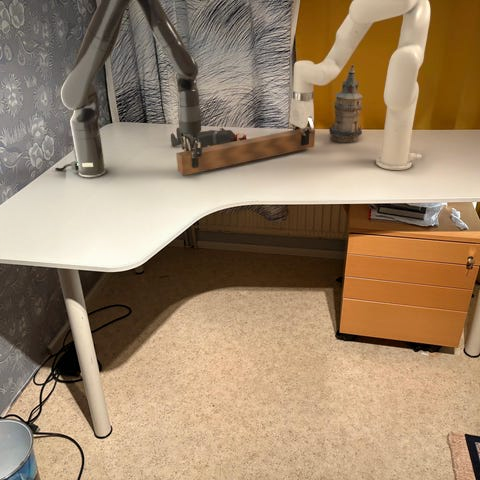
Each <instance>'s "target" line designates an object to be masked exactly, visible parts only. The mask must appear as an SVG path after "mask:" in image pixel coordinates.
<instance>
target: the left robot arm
mask: <svg viewBox="0 0 480 480" xmlns="http://www.w3.org/2000/svg"><path fill="white" fill-rule="evenodd" d="M135 1H136V2H137V4H138V6H139V7H140V9H141V11H142V13H143V16H144V18H145V20H146V23H147V25H148V28H149V30H150V32H151V34H152V35H153V37H154V39H155V41H156V42H157V44H158V45H159V47H160V48H161V50H162V52H164V54H165V55H166V57H167V58H168V60H169V61H170V64H171V65H172V67H173V69H174V72H175V73H174V74H175V80H176V86H177V117H178V128H179V131H180V132H181V133H180V138H181V144H182V145H181V150H182V151H183V152H184V151H190V152H191V156H192V167H193V168H198V167H199V161H198V157H201V156H202V148H203V145H202V142H199V140H198V135H197V134H198V133H199V132H202V115H201V107H200V94H199V92H200V91H199V87H198V84H197V76H198V74H199V66H198V63H197V61H196V59H195V58H194V56H193V55H192V53H191V52H190V51H189V49H188V48H187V46H186V45H185V42H184V40H183V38H182V36H181V34H180V33H179V32H178V30H177V28H176V27H175V25H174V23H173V22H172V20H171V19H170V17H169V15H168V14H167V12H166V10H165V9H164V6H163V5H162V3H161V1H160V0H135ZM130 2H131V0H100V2H99V4H98V6H97V7H96V9H95V11H94V13H93V15H92V18H91V20H90V22H89V24H88V26H87V29H86V32H85V33H84V37H83V40H82V43H81V45H80V48H79V50H78V53H77V56H76V58H75V61H74V64H73V66H72V68H71V70H70V72H69V74H68V76H67V77H66V79H65V81H64V83H63V85H62V87H61V90H60V98H61V101H62V103H63V105H64V106H65V107H66V108H67V109H69V110H72V111H73V114H72V116H71V118H70V120H69V121H70V123H69V124H70V128H71V134H72V139H73V145H74V147H73V148H72V151H73V157H74V161H71V162H70V163H67V164H65V165H64V166H63V167H54V168H55V171H60V172H61V171H64V170H66V168H68V167H71V170H73V171H76V174H78V175H79V177H82V178H87V179H88V178H90V179H91V178H97V177H100V176H103V175H105V174H106V172H107V171H106V165H105V158H104V151H103V145H102V137H101V130H100V124H99V119H100V105H99V104H100V103H99V96H98V90H97V87H96V85H95V84H94V82H93V80H94V78H95V77H96V76H97V74H98V72H99V71H100V70H101V69H102V68H103V66H104V65H105V64H106V62H107V61H108V60H109V58H110V57H111V55H112V53H113V52H114V49H115V46H116V44H117V42H118V40H119V36H120V33H121V29H122V25H123V19H124V16H125V14H126V13H125V12H126V11H127V8H128V7H129V4H130ZM193 151H194V153H193Z"/></svg>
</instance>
